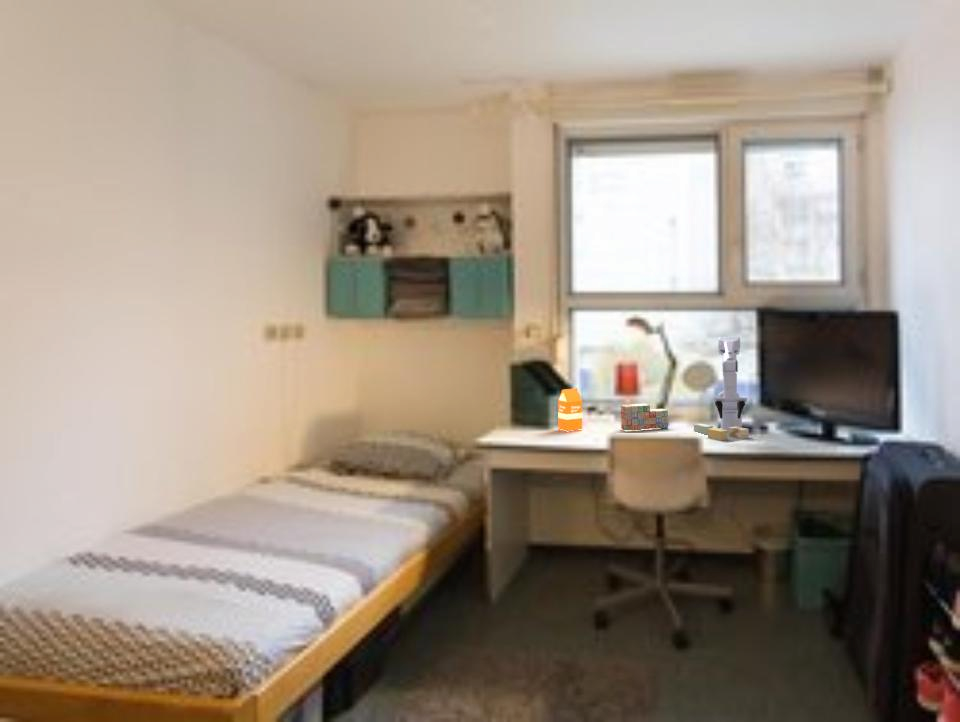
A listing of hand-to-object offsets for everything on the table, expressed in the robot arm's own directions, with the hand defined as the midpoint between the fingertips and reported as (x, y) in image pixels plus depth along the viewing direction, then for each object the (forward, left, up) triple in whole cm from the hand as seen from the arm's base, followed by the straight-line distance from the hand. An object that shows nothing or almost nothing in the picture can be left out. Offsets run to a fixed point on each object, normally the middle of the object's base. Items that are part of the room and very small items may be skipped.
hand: (729, 418), depth 389 cm
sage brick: (-2, -19, -10) cm, 21 cm away
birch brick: (-9, -4, -10) cm, 14 cm away
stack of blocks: (+11, -45, -11) cm, 47 cm away
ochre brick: (+1, -7, -10) cm, 12 cm away
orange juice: (+40, -65, -11) cm, 77 cm away
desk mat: (-4, -11, -10) cm, 16 cm away
